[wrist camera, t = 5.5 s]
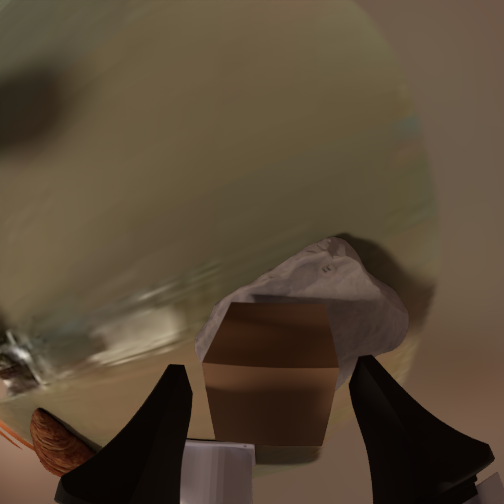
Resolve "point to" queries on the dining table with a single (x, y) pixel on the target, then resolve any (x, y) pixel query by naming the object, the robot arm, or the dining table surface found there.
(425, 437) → the robot arm
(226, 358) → the walnut cube
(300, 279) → the stone block
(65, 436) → the pastry
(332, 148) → the dining table surface
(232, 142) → the dining table surface
